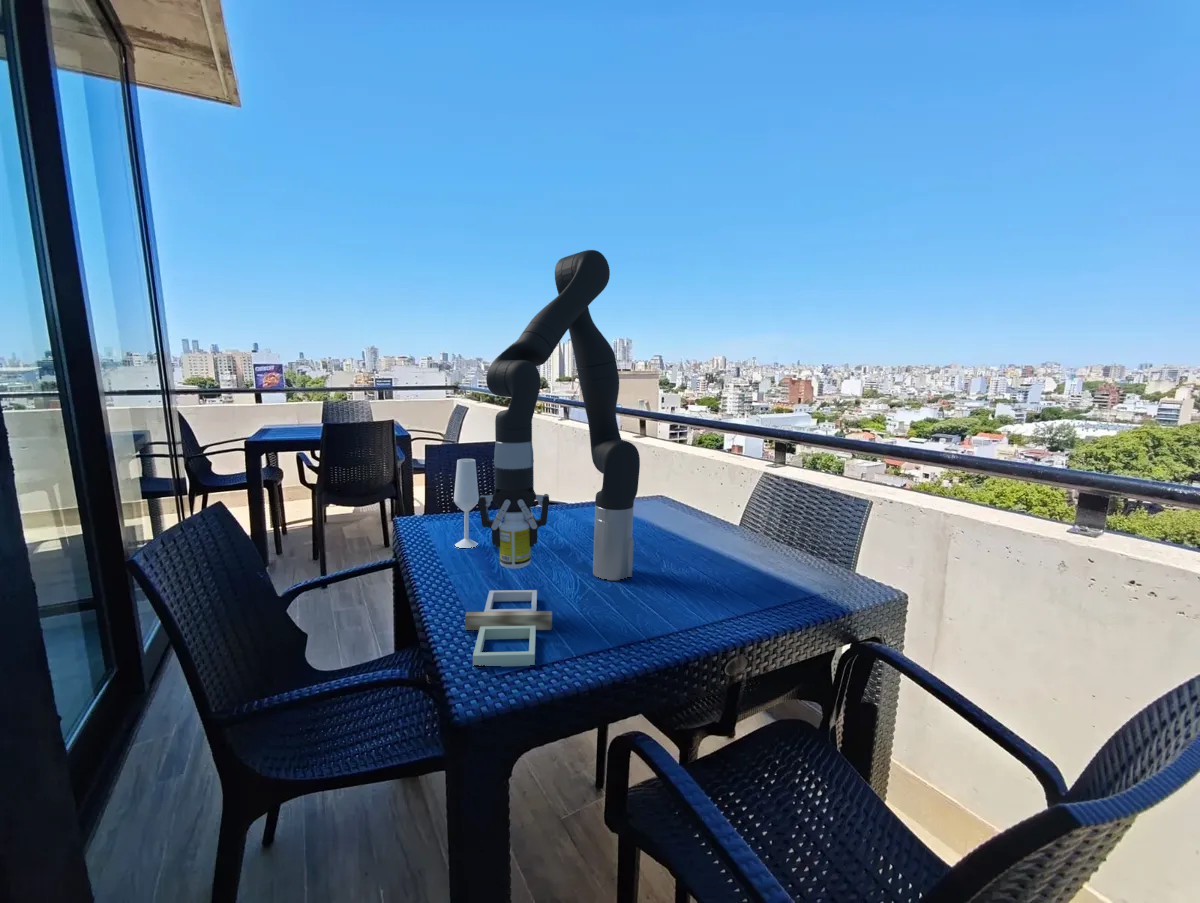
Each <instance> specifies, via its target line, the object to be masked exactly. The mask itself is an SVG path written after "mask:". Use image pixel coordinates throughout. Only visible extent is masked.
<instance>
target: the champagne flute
mask: <svg viewBox="0 0 1200 903" xmlns="http://www.w3.org/2000/svg"><path fill="white" fill-rule="evenodd" d="M476 463H477V462H476V459H474V458H460V459H457V461H456V469H455V481H454V494H453V502H454V504H455V506H457V507H458V508H459V510H461V511H463V516H464V517H463V520H464V521H463V522H464V524H463V525H464V528H463V529H464V530H463V534H464V537H463V538H462V539H461V540H459V541H458V542H456V543H455V544H454V545H455V546H456V547H459V548H471V547H472V548H471V549H474V548H473V547H475V548H477V547H478V546H479V545H478V544H479V543H478V542H476V541H475V540H472V539H471V538H470V537H469V536H470V532H469V529H470V528H469V525H470V523H469V521H470V520H469V518H470V517H469V514H470V513H469V512H470V511H472V510H473V509H474V508H475V507H476V506H477V504H479V498H480V495H479V487H478V476H477V475H478V474H477V464H476ZM477 545H478V546H477ZM476 546H477V547H476ZM456 547H455V548H456ZM459 548H458V549H459Z"/></svg>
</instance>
